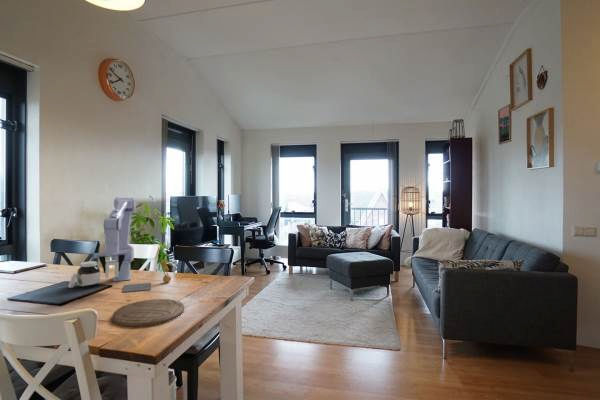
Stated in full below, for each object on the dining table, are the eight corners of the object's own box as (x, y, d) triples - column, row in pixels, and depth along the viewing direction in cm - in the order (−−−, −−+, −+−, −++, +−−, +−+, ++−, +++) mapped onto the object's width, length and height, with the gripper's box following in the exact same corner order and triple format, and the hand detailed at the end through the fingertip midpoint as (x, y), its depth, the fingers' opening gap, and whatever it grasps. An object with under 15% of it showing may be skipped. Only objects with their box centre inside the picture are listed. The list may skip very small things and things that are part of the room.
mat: (124, 285, 157) (124, 284, 157) (151, 283, 162) (151, 282, 162) (122, 292, 146) (122, 291, 146) (150, 290, 151) (150, 289, 151)
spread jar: (102, 285, 157) (103, 262, 156) (78, 291, 146) (79, 266, 146) (87, 282, 162) (88, 259, 161) (63, 287, 151) (63, 263, 151)
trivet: (131, 303, 134) (131, 298, 134) (191, 303, 136) (191, 299, 135) (98, 328, 109) (98, 322, 109) (171, 327, 111) (172, 322, 111)
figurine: (162, 284, 160) (162, 261, 160) (154, 283, 163) (155, 260, 163) (176, 281, 167) (176, 258, 167) (169, 279, 170) (169, 257, 170)
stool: (104, 275, 150) (105, 260, 150) (117, 274, 153) (117, 259, 153) (105, 277, 146) (105, 262, 146) (118, 276, 149) (118, 261, 148)
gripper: (94, 245, 142) (93, 275, 142) (130, 243, 150) (129, 271, 150) (93, 243, 148) (93, 272, 148) (128, 241, 156) (128, 268, 156)
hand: (111, 271), depth 149 cm, fingers closed on stool, 5 cm apart
